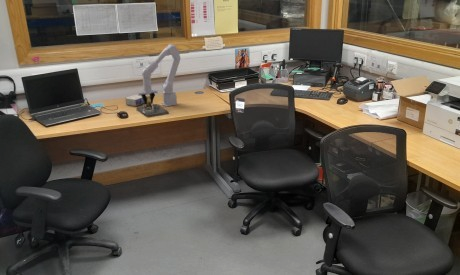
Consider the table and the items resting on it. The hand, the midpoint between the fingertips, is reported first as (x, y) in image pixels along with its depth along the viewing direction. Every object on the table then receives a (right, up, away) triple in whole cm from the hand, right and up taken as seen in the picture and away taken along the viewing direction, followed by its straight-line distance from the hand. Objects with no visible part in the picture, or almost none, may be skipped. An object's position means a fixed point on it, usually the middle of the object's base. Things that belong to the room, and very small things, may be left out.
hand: (148, 103), depth 292 cm
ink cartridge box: (-13, +1, 0) cm, 13 cm away
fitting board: (+5, -7, -12) cm, 14 cm away
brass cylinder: (0, -2, +1) cm, 2 cm away
